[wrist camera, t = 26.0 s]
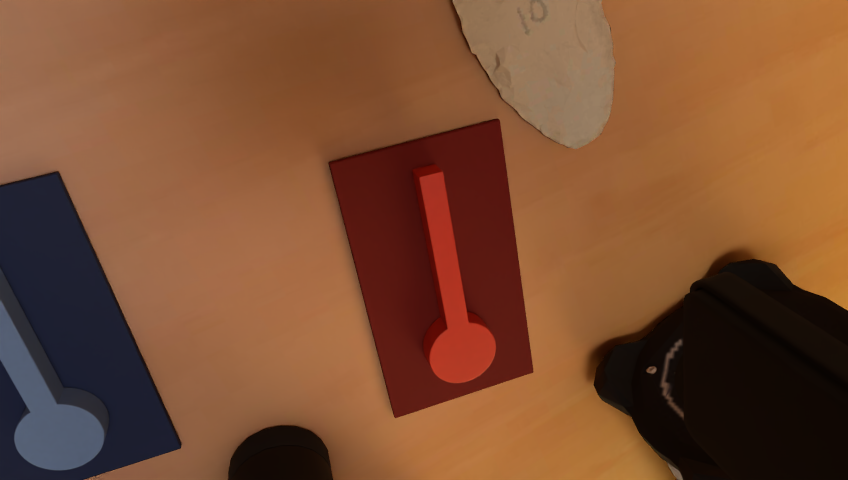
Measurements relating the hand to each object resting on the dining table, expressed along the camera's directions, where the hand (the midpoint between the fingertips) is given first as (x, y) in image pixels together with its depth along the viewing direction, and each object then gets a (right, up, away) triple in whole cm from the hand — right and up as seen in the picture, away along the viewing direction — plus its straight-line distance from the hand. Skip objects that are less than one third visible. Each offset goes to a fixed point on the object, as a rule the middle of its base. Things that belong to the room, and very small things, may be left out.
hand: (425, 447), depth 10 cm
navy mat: (-21, -3, +25) cm, 33 cm away
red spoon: (+1, +1, +29) cm, 29 cm away
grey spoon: (-21, -3, +24) cm, 32 cm away
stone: (+6, +15, +26) cm, 30 cm away
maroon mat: (+1, +1, +30) cm, 30 cm away
